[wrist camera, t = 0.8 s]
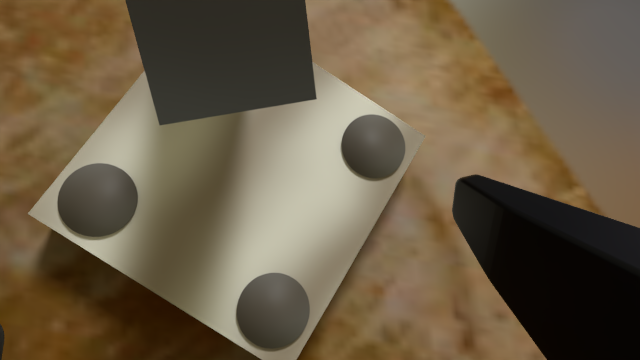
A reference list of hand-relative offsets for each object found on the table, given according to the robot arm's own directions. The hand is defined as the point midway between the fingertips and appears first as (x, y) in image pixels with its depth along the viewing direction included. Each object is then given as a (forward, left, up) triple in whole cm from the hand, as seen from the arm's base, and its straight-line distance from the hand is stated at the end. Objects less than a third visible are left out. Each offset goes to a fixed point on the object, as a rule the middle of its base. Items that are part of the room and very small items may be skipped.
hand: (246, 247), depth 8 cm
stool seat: (+3, -3, -13) cm, 14 cm away
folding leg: (+8, -7, -10) cm, 15 cm away
